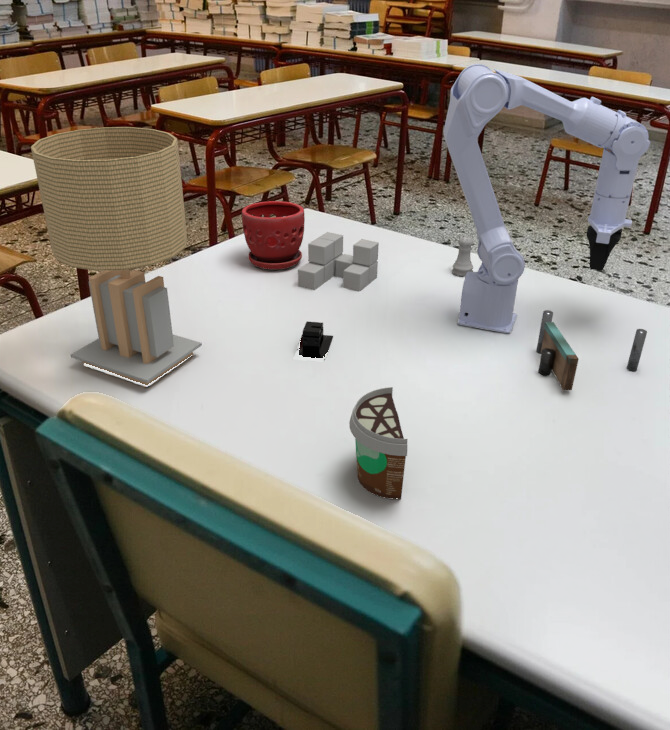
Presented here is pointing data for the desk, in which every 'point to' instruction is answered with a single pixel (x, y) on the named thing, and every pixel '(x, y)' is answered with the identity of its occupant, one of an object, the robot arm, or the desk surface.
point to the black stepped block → (314, 341)
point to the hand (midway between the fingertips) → (596, 268)
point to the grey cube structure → (339, 263)
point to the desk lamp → (118, 238)
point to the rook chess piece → (463, 257)
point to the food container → (379, 444)
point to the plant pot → (273, 233)
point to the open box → (560, 356)
